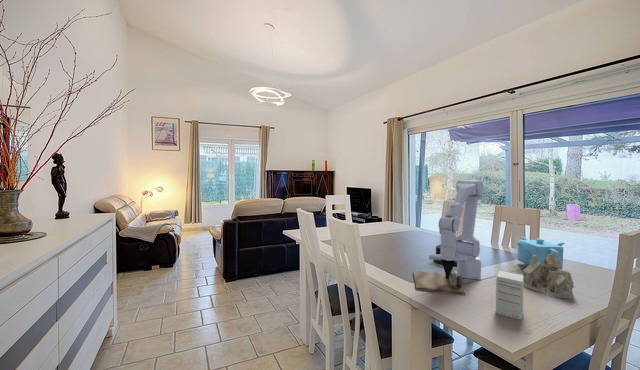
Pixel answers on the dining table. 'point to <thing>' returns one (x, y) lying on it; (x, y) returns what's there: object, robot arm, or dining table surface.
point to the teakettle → (538, 250)
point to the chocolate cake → (438, 251)
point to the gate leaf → (452, 279)
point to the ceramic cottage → (548, 277)
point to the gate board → (437, 283)
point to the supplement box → (509, 294)
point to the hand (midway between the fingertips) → (447, 278)
